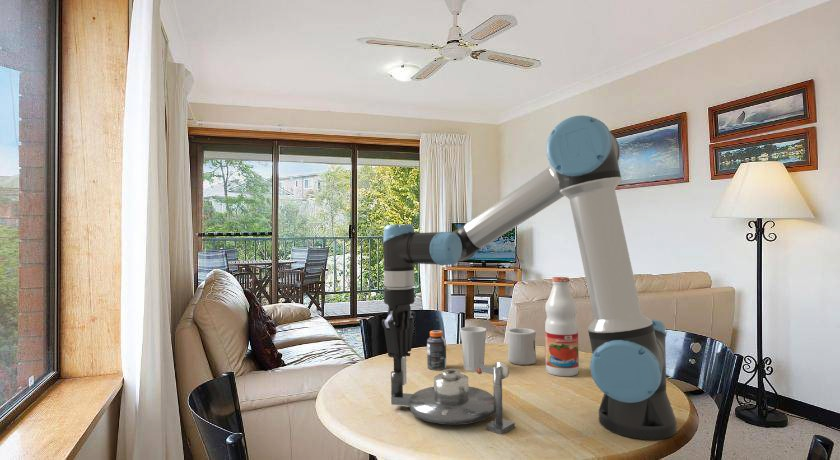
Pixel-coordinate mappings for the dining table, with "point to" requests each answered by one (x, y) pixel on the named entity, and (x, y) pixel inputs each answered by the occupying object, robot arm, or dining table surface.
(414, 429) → the dining table surface
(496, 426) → the indicator
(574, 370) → the fruit juice
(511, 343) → the mug
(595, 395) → the dining table surface
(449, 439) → the dining table surface
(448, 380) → the cover
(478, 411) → the turntable
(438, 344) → the pill bottle
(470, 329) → the cup
